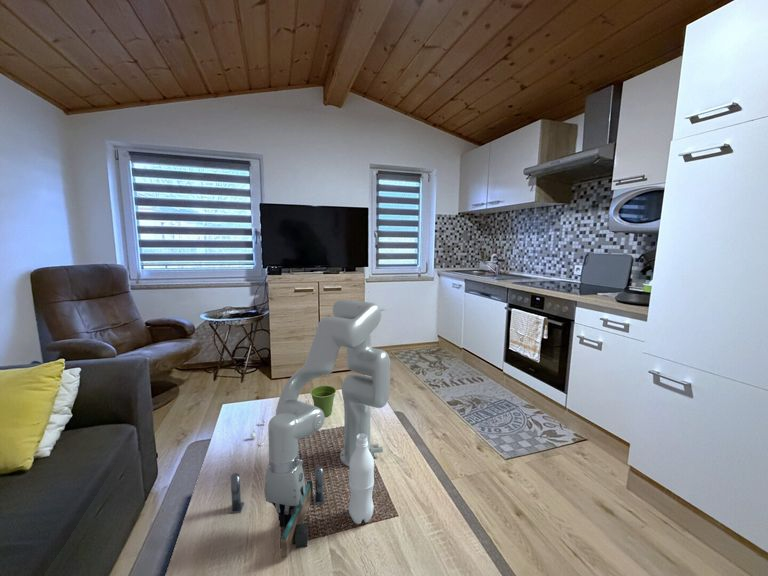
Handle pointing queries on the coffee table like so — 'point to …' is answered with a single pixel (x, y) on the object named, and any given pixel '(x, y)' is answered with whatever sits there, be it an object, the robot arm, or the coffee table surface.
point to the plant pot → (323, 398)
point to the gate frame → (301, 529)
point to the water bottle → (361, 481)
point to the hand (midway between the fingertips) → (285, 522)
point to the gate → (295, 521)
